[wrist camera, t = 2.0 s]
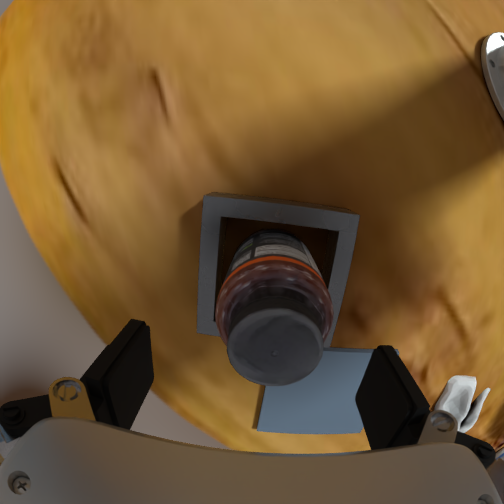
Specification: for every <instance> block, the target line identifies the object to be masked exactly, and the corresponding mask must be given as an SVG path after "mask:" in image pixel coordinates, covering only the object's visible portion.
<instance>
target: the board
mask: <svg viewBox="0 0 504 504" xmlns="http://www.w3.org/2000/svg"><path fill="white" fill-rule="evenodd" d="M373 350H374V349H350V348H326V347H324V350H323V355H322V358H321V360H320V362H319V364H318V365H317V367H316V368H315V369H314V371H312V372H311V373H310V374H309V375H308V376H306V377H305V378H303V379H302V380H300V381H298V382H295V383H292V384H289V385H285V386H265V391H264V396H263V401H262V406H261V411H260V416H259V420H258V425H257V431H263V432H275V433H294V434H346V433H360V432H361V430H362V428H363V427H364V426H363V423H362V420H361V417H360V414H359V411H358V408H357V405H356V402H355V396H356V393H357V391H358V388H359V386H360V383H361V381H362V378H363V376H364V373H365V371H366V368H367V366H368V363H369V360H370V358H371V355H372V352H373ZM394 350H395V351H396V353H397V354H398V355H399V351H398V350H397V349H394Z"/></svg>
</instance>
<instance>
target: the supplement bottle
mask: <svg viewBox="0 0 504 504" xmlns="http://www.w3.org/2000/svg"><path fill="white" fill-rule="evenodd" d="M333 314H334V312H333V305H332V301H331V297H330V294H329V292H328V289H327V287H326V285H325V282H324V280H323V278H322V276H321V274H320V272H319V270H318V268H317V266H316V262H314V260H313V258H312V256H311V254H310V252H309V250H308V249H307V247H306V246H305V244H304V243H303V242H302V241H301V240H300V239H299V238H298V237H297V236H295V235H294V234H292V233H290V232H287V231H285V230H280V229H266V230H261V231H259V232H256V233H254V234H252V235H250V236H249V237H248V238H247V239H245V240H244V241H243V243H242V244H241V245H240V246H239V248H238V249H237V251H236V253H235V255H234V258H233V260H232V262H231V265H230V267H229V270H228V272H227V275H226V277H225V280H224V282H223V285H222V287H221V290H220V293H219V295H218V299H217V303H216V310H215V318H216V325H217V329H218V332H219V334H220V336H221V338H222V340H223V342H224V343H225V345H226V346H227V354H228V357H229V360H230V363H231V364H232V366H233V367H234V369H235V370H236V371H237V372H238V373H239V374H240V375H241V376H243V377H244V378H246V379H247V380H249V381H252V382H254V383H257V384H261V385H266V386H285V385H289V384H292V383H295V382H298V381H300V380H302V379H303V378H305V377H306V376H308V375H309V374H310V373H311V372H312V371H314V369H315V368H316V367H317V365H318V364H319V362H320V360H321V358H322V355H323V350H324V342H325V340H326V338H327V336H328V335H329V333H330V330H331V327H332V323H333Z"/></svg>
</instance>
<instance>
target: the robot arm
mask: <svg viewBox="0 0 504 504" xmlns="http://www.w3.org/2000/svg"><path fill="white" fill-rule="evenodd" d="M481 61H482V68H483V72H484V77H485V80H486V83H487V86H488V89H489V92H490V94H491V97H492V99H493V101H494V103H495V105H496V108H497V110H498V111H499V113H500V115H501V117H502V118H503V120H504V33H500V32H496V33H492V34H490V35H489V36H487V37H486V38H485V39H484V41H483V44H482V47H481ZM153 379H154V372H153V362H152V351H151V339H150V327H149V326H147V325H146V323H145V322H144V321H140V320H135V319H131V320H130V321H129V322H128V324H127V325H126V326H125V327H124V328H123V329H122V331H121V332H120V333H119V334H118V335H117V337H116V338H115V339H114V340H113V342H112V343H111V344H110V345H108V346H107V347H106V348H105V349H104V350H103V351H102V352H101V354H100V355H99V356H98V357H97V359H96V360H95V361H94V363H92V365H91V366H90V367H89V369H88V370H87V371H86V372H85V374H84V375H83V376H82V377H81V378H80V380H78V379H76V378H72V377H63V378H60V379H57V380H56V381H54V382H53V383H52V384H51V385H50V387H49V394H48V395H43V396H38V397H33V398H27V399H22V400H16V401H10V402H7V403H5V404H3V405H2V406H1V408H0V504H504V460H502V459H501V458H498V459H497V460H496V459H495V457H496V454H495V450H494V449H493V447H492V446H491V445H490V444H488V443H487V442H484V441H482V440H479V439H477V438H474V437H472V436H469V435H467V434H464V433H462V432H460V431H457V429H458V422H457V420H456V418H455V417H454V416H453V415H452V414H451V413H449V412H447V411H444V410H435V411H432V412H430V410H429V407H430V405H429V403H428V402H427V400H426V398H425V397H424V395H423V393H422V392H421V390H420V389H419V387H418V385H417V384H416V382H415V381H414V379H413V377H412V376H411V374H410V373H409V371H408V369H407V368H406V366H405V365H404V363H403V362H402V360H401V359H400V357H399V356H398V354H397V353H396V351H395V350H394V348H393V347H392V346H390V345H380V346H378V347H377V349H374V350H373V352H372V355H371V358H370V360H369V363H368V366H367V368H366V371H365V373H364V376H363V378H362V381H361V383H360V386H359V388H358V391H357V393H356V396H355V402H356V405H357V408H358V411H359V414H360V417H361V420H362V423H363V426H364V429H365V432H366V435H367V438H368V441H369V444H370V447H371V450H367V451H357V452H345V453H326V454H278V453H260V452H247V451H237V450H228V449H220V448H212V447H205V446H200V445H194V444H188V443H183V442H178V441H173V440H168V439H164V438H159V437H155V436H151V435H147V434H143V433H139V432H135V431H132V430H130V428H131V426H132V424H133V422H134V420H135V418H136V416H137V414H138V411H139V410H140V407H141V405H142V403H143V401H144V399H145V397H146V395H147V393H148V391H149V389H150V387H151V385H152V383H153Z"/></svg>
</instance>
